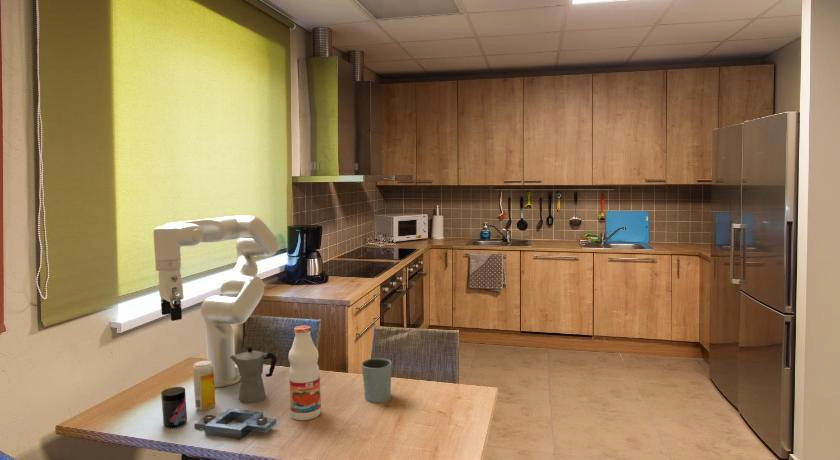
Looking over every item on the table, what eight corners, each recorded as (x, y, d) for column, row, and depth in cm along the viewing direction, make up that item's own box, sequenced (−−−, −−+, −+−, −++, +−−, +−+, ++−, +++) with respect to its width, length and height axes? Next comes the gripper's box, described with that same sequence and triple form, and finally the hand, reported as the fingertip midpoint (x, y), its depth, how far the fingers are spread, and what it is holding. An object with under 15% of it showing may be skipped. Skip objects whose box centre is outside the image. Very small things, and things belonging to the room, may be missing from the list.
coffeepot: (228, 404, 186) (225, 351, 184) (236, 393, 196) (233, 342, 194) (275, 403, 187) (273, 350, 185) (281, 392, 196) (279, 341, 194)
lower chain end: (187, 432, 167) (187, 424, 167) (213, 415, 179) (212, 408, 178) (241, 439, 162) (240, 431, 162) (264, 421, 174) (263, 414, 173)
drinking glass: (374, 406, 183) (373, 370, 182) (356, 397, 191) (355, 362, 190) (398, 397, 190) (397, 362, 189) (380, 389, 198) (379, 355, 196)
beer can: (219, 404, 187) (217, 360, 185) (207, 412, 181) (204, 367, 179) (204, 402, 189) (201, 358, 187) (191, 410, 183) (188, 365, 181)
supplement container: (165, 431, 168) (163, 397, 167) (161, 422, 174) (159, 390, 173) (189, 425, 172) (187, 392, 171) (184, 417, 178) (182, 385, 177)
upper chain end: (205, 430, 165) (204, 422, 165) (229, 412, 177) (229, 405, 177) (259, 437, 160) (259, 429, 160) (281, 419, 172) (281, 411, 172)
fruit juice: (317, 405, 184) (314, 321, 181) (324, 417, 176) (321, 329, 173) (288, 411, 181) (284, 325, 178) (293, 423, 172) (289, 333, 169)
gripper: (189, 266, 178) (192, 320, 180) (172, 260, 191) (175, 310, 193) (164, 269, 173) (167, 324, 175) (148, 262, 186) (151, 314, 188)
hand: (171, 316), depth 184 cm, fingers open, 9 cm apart
